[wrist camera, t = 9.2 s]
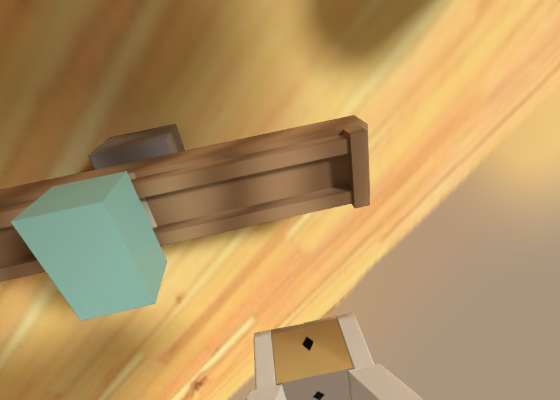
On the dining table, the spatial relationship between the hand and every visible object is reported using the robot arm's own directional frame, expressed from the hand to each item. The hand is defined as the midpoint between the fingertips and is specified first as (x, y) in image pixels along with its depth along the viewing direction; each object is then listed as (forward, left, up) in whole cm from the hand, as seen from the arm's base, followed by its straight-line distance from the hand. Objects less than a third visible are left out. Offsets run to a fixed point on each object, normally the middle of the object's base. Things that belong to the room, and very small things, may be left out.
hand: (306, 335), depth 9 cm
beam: (+8, 0, -18) cm, 20 cm away
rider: (+9, 0, -12) cm, 15 cm away
